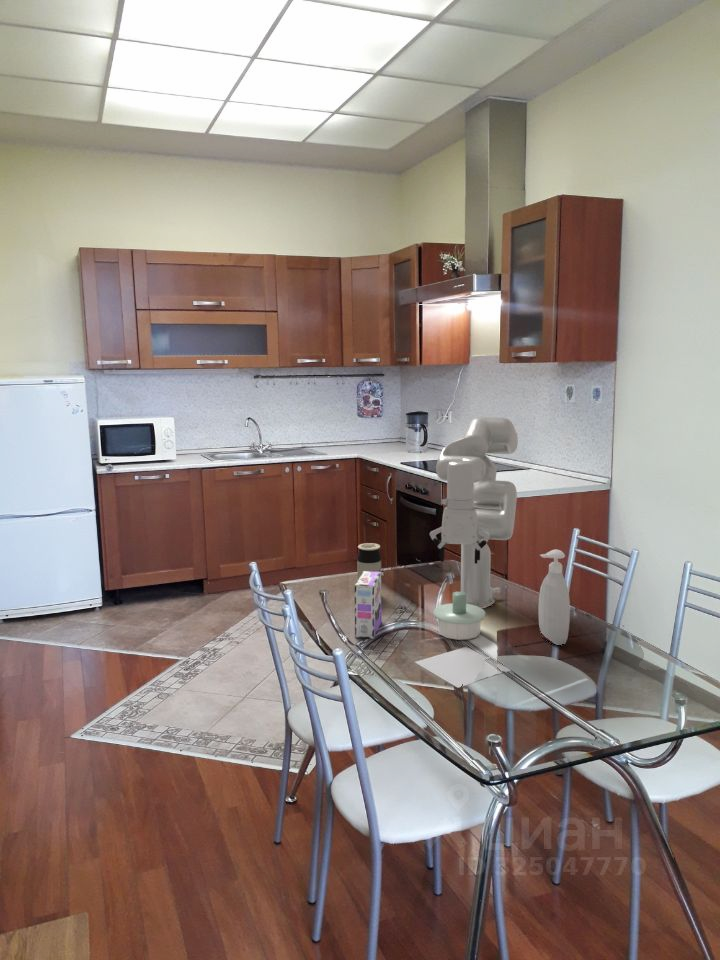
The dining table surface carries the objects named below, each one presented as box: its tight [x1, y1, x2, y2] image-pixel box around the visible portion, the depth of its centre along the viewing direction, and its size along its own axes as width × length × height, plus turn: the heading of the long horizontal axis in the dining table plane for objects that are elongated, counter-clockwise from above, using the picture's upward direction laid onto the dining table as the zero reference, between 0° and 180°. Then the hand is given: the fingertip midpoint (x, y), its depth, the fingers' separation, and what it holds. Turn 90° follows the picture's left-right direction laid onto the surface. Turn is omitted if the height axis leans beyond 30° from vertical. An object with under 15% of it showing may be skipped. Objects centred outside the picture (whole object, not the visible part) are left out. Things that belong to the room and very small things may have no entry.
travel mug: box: [356, 542, 382, 580], centre depth 249 cm, size 8×8×18 cm
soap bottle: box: [537, 548, 571, 646], centre depth 210 cm, size 14×8×27 cm, turn 14°
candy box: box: [354, 571, 383, 639], centre depth 220 cm, size 14×6×16 cm, turn 168°
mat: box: [414, 646, 512, 689], centre depth 195 cm, size 18×18×1 cm
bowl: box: [437, 619, 481, 641], centre depth 217 cm, size 12×12×6 cm
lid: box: [433, 591, 486, 624], centre depth 216 cm, size 15×15×6 cm
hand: (459, 561), depth 214 cm, fingers open, 9 cm apart
